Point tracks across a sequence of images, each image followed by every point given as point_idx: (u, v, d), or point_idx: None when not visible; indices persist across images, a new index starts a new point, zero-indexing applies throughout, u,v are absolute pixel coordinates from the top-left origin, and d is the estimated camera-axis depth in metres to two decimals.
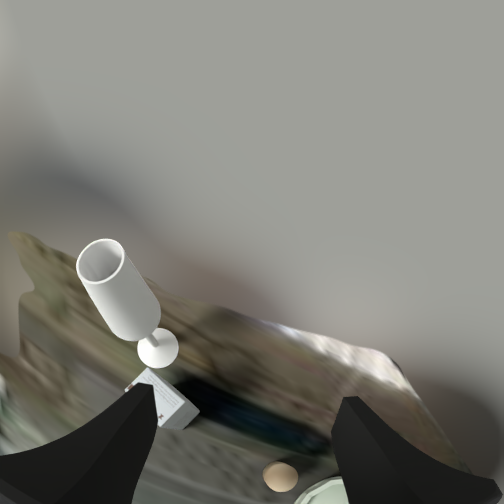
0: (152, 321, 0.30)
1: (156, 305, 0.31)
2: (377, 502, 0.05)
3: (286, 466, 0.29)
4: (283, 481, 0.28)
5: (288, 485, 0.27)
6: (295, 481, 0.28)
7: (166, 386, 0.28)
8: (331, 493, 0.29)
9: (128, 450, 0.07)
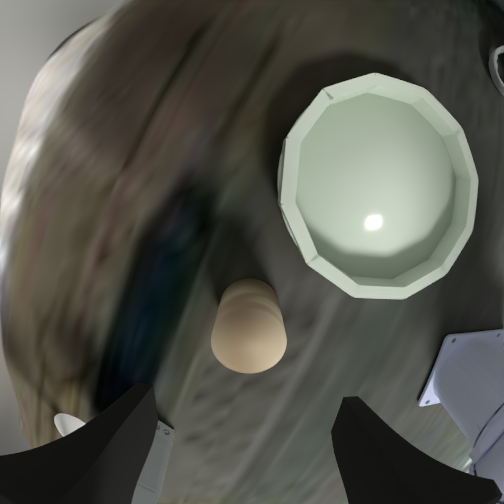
0: None
1: None
2: (377, 502, 0.05)
3: (217, 333, 0.15)
4: (257, 341, 0.15)
5: (270, 330, 0.15)
6: (261, 316, 0.15)
7: None
8: (320, 194, 0.17)
9: (128, 450, 0.07)
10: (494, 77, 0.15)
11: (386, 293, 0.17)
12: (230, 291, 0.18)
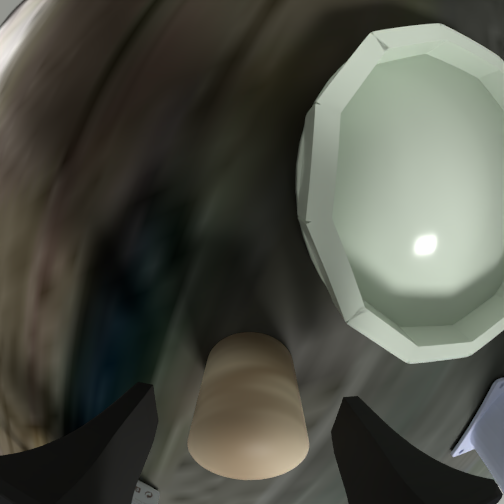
0: None
1: None
2: (377, 502, 0.05)
3: (196, 438, 0.08)
4: (262, 448, 0.08)
5: (283, 436, 0.08)
6: (270, 420, 0.08)
7: None
8: (366, 203, 0.10)
9: (128, 450, 0.07)
10: None
11: (450, 352, 0.10)
12: (219, 357, 0.11)
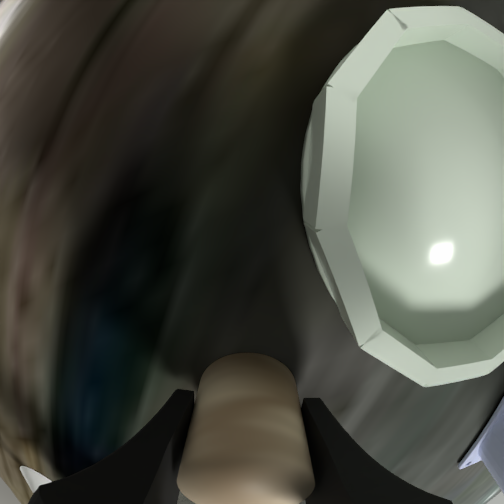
0: None
1: None
2: None
3: (186, 478, 0.06)
4: (261, 489, 0.06)
5: (285, 478, 0.06)
6: (270, 463, 0.06)
7: None
8: (382, 206, 0.09)
9: (175, 460, 0.07)
10: None
11: (469, 372, 0.08)
12: (213, 382, 0.09)
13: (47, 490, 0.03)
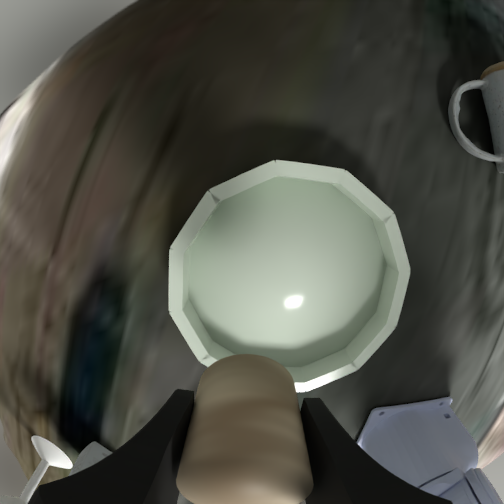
0: None
1: None
2: None
3: (185, 478, 0.06)
4: (260, 490, 0.06)
5: (285, 479, 0.06)
6: (271, 465, 0.06)
7: None
8: (217, 293, 0.18)
9: (175, 460, 0.07)
10: (452, 125, 0.15)
11: None
12: (214, 383, 0.09)
13: (47, 490, 0.03)
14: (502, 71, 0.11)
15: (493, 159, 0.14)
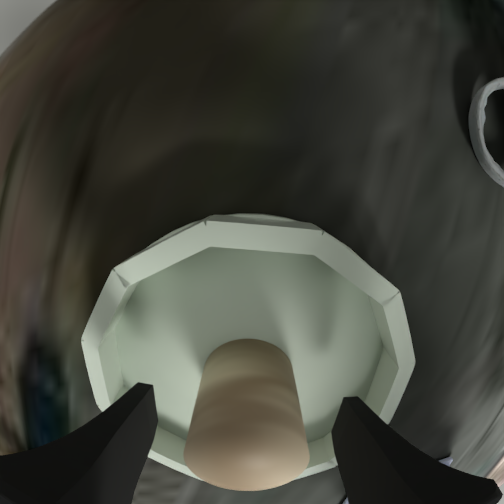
0: None
1: None
2: (377, 502, 0.05)
3: (192, 449, 0.07)
4: (260, 461, 0.07)
5: (284, 450, 0.07)
6: (271, 434, 0.07)
7: None
8: (155, 382, 0.12)
9: (128, 450, 0.07)
10: (475, 143, 0.10)
11: None
12: (218, 364, 0.11)
13: None
14: None
15: None
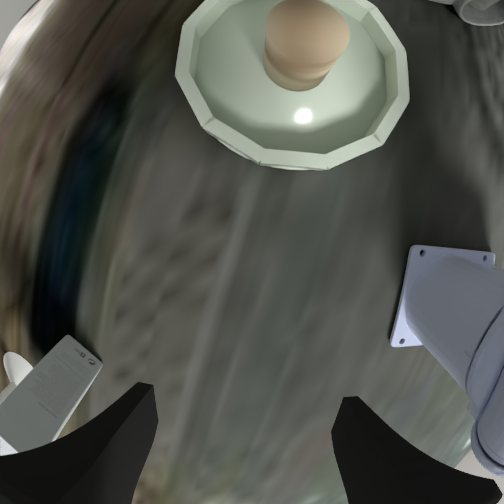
0: None
1: None
2: (377, 502, 0.05)
3: (273, 14, 0.10)
4: (318, 25, 0.10)
5: (330, 17, 0.10)
6: (320, 4, 0.10)
7: None
8: (223, 73, 0.16)
9: (128, 450, 0.07)
10: None
11: (302, 160, 0.15)
12: None
13: None
14: None
15: None
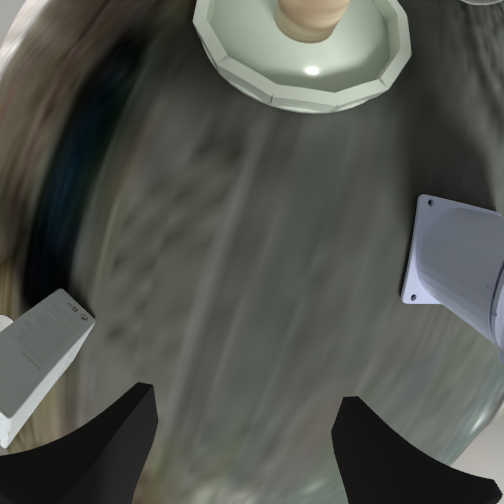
0: None
1: None
2: (377, 502, 0.05)
3: None
4: None
5: None
6: None
7: None
8: (237, 25, 0.15)
9: (128, 450, 0.07)
10: None
11: (312, 96, 0.14)
12: None
13: None
14: None
15: None
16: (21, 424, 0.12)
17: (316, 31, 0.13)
